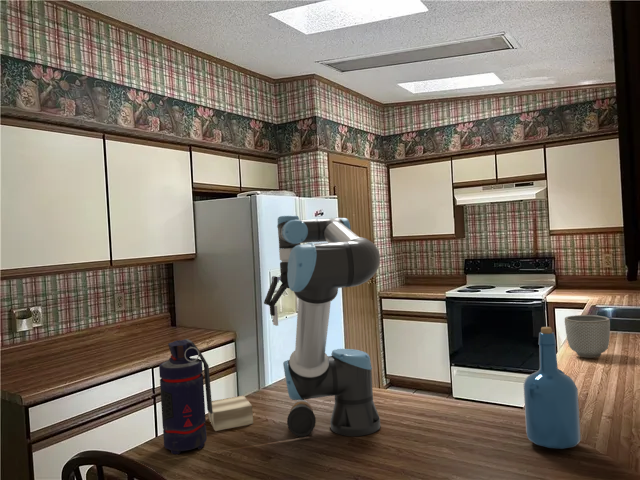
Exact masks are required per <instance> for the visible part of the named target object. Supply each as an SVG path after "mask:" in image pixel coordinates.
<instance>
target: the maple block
mask: <svg viewBox="0 0 640 480" xmlns="http://www.w3.org/2000/svg"><path fill="white" fill-rule="evenodd" d="M212 411H213V413H212V414H211V413H210V412H209V411H208V410H207V412H208V413H207V414H208V421H209V422H211V423H210V425H211V426H212V428H213V430H214V431H215V432H217V431H222V430H229V429H232V428H238V427H243V426H248V425H254V417H253V416H254V414H253V412H254V411H253V405H252V404H251V403H250V401H249V400H248V399H247V398H246V396H245V395H239V396H234V397H228V398H222V399H216V400H215V399H214V400H212Z"/></svg>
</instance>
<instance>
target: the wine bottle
mask: <svg viewBox="0 0 640 480" xmlns="http://www.w3.org/2000/svg"><path fill="white" fill-rule="evenodd" d="M537 344H538V345H539V369H538V370H537V371H535V372H533V373H530V374H528V376H526V378H525V379H524V382H523V397H524V399H523V400H524V401H523V402H524V417H525V418H524V420H525V433H526V437H527V438H528V441H530V442H531V443H534V445H537V446H541V447H545V448H547V449H561V450H563V449H568V448H574V447H576V446H577V445H578V444H579V443H580V441H581V424H580V422H581V421H580V406H579V391H578V390H579V389H578V387H577V385H576V383H575V382H574V380H573V378H572V377H571V376H569V375H567V374H565V372H564V371H563V370H561V369H559V366H558V357H557V348H556V347H557V341H556V335H555V332H553V329H552V327H551V326H541V328H540V332H538V343H537Z"/></svg>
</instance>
